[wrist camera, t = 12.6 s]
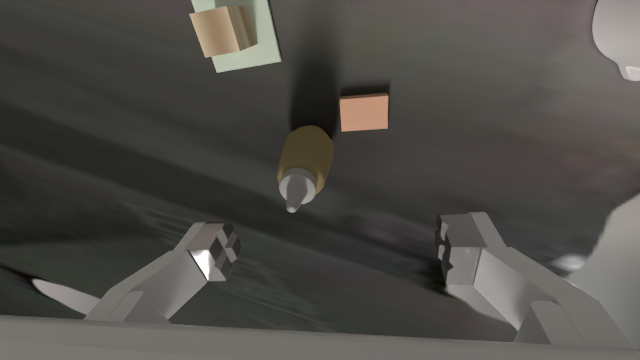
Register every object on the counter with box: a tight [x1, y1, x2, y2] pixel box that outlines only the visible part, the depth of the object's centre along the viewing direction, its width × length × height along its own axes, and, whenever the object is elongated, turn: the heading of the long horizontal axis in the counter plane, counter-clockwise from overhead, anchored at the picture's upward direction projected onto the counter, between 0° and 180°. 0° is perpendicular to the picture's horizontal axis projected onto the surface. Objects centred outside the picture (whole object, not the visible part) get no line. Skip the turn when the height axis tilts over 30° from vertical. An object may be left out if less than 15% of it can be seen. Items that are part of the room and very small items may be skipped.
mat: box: [191, 0, 282, 72], centre depth 36 cm, size 10×10×1 cm
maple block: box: [190, 6, 258, 58], centre depth 33 cm, size 4×4×7 cm
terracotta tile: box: [340, 93, 388, 131], centre depth 41 cm, size 7×5×2 cm
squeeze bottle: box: [277, 125, 334, 213], centre depth 37 cm, size 8×8×18 cm
